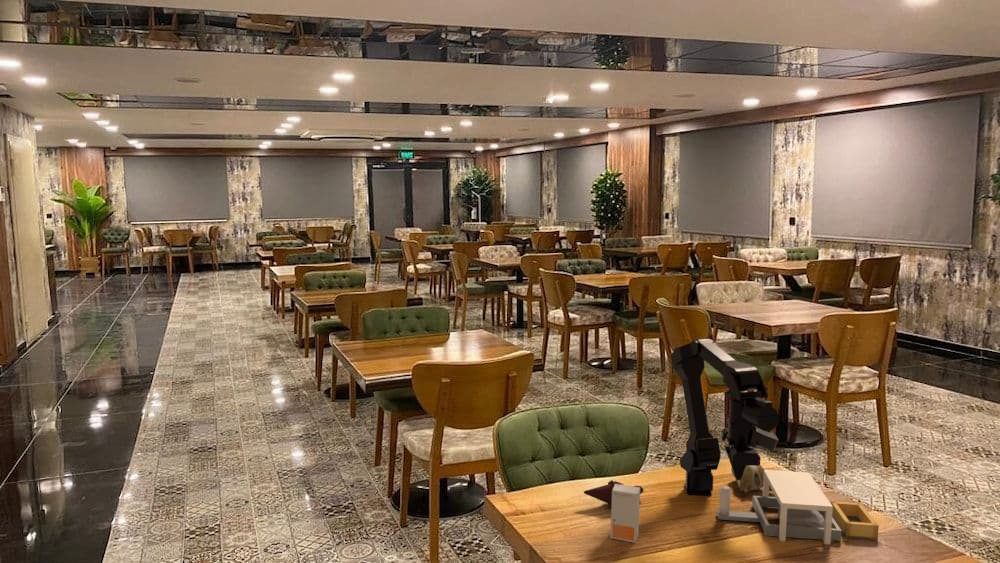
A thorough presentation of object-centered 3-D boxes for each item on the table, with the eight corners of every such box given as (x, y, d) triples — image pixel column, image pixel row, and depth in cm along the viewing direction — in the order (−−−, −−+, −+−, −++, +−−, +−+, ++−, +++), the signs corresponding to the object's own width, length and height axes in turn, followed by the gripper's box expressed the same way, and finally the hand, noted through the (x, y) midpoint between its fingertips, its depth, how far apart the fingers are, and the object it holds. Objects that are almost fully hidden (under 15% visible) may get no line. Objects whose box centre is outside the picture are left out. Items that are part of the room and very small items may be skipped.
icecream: (587, 490, 177) (647, 494, 177) (584, 471, 184) (641, 476, 184) (583, 512, 179) (642, 517, 180) (580, 493, 186) (637, 498, 187)
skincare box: (609, 539, 165) (611, 490, 163) (613, 531, 169) (614, 483, 167) (636, 543, 163) (637, 493, 161) (639, 535, 167) (640, 486, 165)
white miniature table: (779, 540, 164) (782, 503, 163) (762, 503, 184) (763, 469, 183) (830, 544, 162) (832, 506, 161) (806, 506, 182) (808, 472, 181)
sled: (722, 532, 168) (724, 502, 167) (713, 502, 184) (714, 474, 183) (841, 540, 164) (843, 510, 163) (820, 509, 180) (822, 481, 179)
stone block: (784, 541, 168) (829, 537, 166) (781, 521, 168) (826, 517, 166) (775, 520, 180) (817, 516, 178) (772, 502, 179) (814, 498, 177)
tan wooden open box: (845, 538, 166) (846, 523, 165) (830, 515, 177) (831, 501, 177) (877, 540, 165) (878, 525, 164) (860, 517, 176) (860, 503, 176)
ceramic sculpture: (759, 446, 201) (783, 470, 186) (758, 475, 202) (781, 500, 188) (723, 447, 200) (743, 471, 185) (721, 476, 202) (742, 502, 187)
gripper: (785, 432, 162) (781, 497, 164) (767, 408, 180) (764, 467, 182) (734, 429, 163) (731, 494, 165) (722, 405, 182) (719, 464, 184)
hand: (738, 479), depth 174 cm, fingers closed
